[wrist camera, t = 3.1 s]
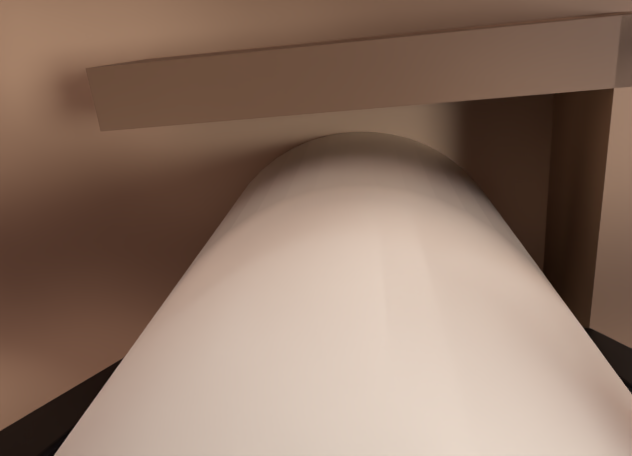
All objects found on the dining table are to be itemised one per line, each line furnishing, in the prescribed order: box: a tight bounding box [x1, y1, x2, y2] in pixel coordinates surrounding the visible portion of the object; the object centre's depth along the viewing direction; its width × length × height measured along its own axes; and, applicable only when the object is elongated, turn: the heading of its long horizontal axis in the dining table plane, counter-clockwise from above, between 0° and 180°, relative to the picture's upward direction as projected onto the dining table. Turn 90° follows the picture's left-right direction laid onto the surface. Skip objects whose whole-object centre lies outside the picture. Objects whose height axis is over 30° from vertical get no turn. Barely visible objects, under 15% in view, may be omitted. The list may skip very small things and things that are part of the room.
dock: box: [0, 0, 632, 431], centre depth 12 cm, size 20×20×4 cm
